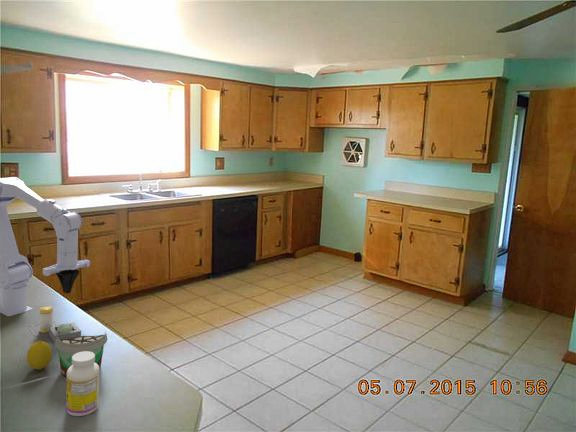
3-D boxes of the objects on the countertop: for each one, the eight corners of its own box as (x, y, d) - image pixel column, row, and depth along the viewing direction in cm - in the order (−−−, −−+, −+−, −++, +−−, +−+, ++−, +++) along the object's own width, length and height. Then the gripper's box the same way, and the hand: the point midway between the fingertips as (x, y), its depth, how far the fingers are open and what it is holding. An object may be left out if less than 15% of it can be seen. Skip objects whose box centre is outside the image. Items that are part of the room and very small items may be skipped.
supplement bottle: (73, 399, 101) (74, 348, 98) (102, 400, 101) (104, 349, 99) (60, 417, 94) (61, 362, 92) (92, 418, 95) (93, 364, 93)
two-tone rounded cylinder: (37, 330, 130) (37, 308, 129) (48, 326, 133) (48, 305, 132) (43, 334, 129) (43, 311, 128) (55, 330, 132) (55, 308, 131)
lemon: (56, 366, 113) (56, 337, 112) (42, 377, 108) (42, 347, 107) (36, 363, 114) (36, 334, 112) (21, 374, 108) (21, 344, 107)
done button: (55, 334, 129) (55, 326, 128) (70, 331, 132) (70, 323, 131) (59, 340, 126) (59, 331, 126) (74, 336, 129) (74, 328, 128)
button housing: (48, 334, 129) (48, 326, 129) (73, 329, 134) (73, 322, 133) (55, 343, 124) (55, 336, 123) (80, 338, 129) (81, 330, 128)
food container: (54, 386, 105) (54, 347, 103) (54, 373, 110) (54, 336, 108) (108, 377, 111) (109, 341, 109) (106, 365, 116) (107, 331, 114)
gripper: (52, 257, 127) (52, 301, 129) (96, 249, 139) (95, 289, 142) (38, 252, 130) (38, 295, 133) (82, 245, 143) (81, 284, 145)
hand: (66, 292), depth 137 cm, fingers closed
